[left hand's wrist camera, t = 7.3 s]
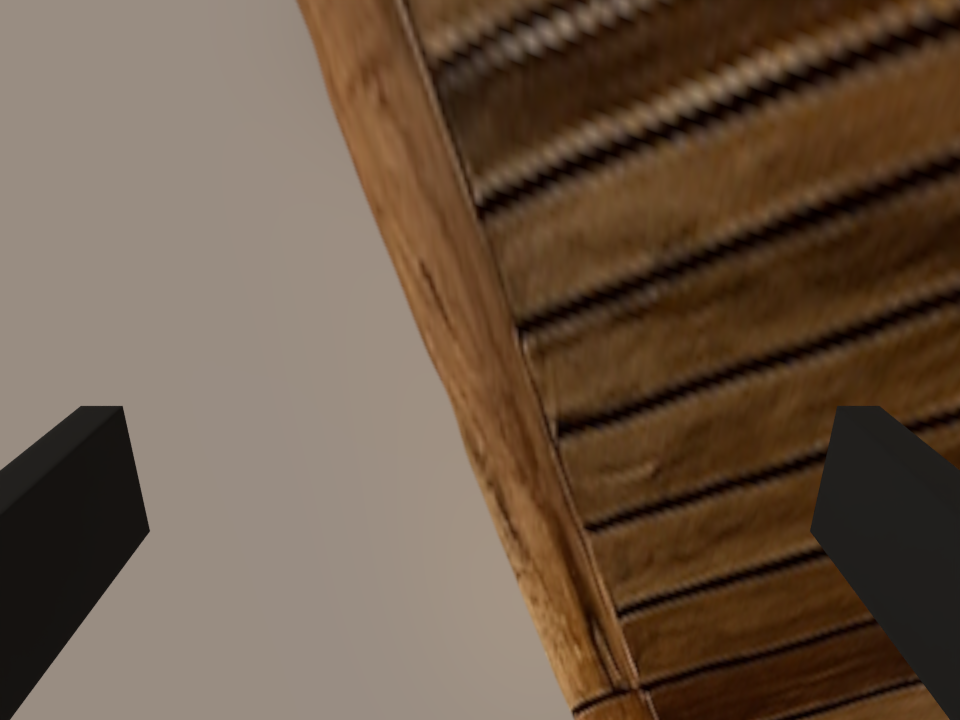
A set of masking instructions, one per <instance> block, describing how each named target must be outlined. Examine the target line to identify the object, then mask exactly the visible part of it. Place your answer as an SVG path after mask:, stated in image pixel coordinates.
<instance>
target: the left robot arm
mask: <svg viewBox="0 0 960 720" xmlns="http://www.w3.org/2000/svg"><path fill="white" fill-rule="evenodd" d="M149 532H150V529H149V525H148V521H147V516H146V511H145V507H144V502H143V497H142V493H141V488H140V484H139V479H138V475H137V470H136V465H135V461H134V456H133V452H132V447H131V442H130V438H129V433H128V429H127V424H126V420H125V415H124V410H123V406H80V407H79V408H78V409H77V410H75V411H74V412H73V413H72V414H70V415H69V416H68V417H67V418H65V419H64V420H63V421H62V422H60V423H59V424H58V425H57V426H55V427H54V428H53V429H52V430H50V431H49V432H48V433H47V434H45V435H44V436H43V437H42V438H40V439H39V440H38V441H37V442H35V443H34V444H33V445H32V446H30V447H29V448H28V449H27V450H25V451H24V452H23V453H22V454H20V455H19V456H18V457H17V458H15V459H14V460H13V461H12V462H10V463H9V464H8V465H7V466H5V467H4V468H3V469H2V470H0V720H10V719H11V718H12V716H13V715H14V713H15V712H16V711H17V709H18V708H19V707H20V705H21V704H22V703H23V701H24V700H25V699H26V697H27V696H28V695H29V693H30V692H31V691H32V689H33V688H34V687H35V685H36V684H37V683H38V681H39V680H40V679H41V677H42V676H43V674H44V673H45V672H46V670H47V669H48V668H49V666H50V665H51V664H52V662H53V661H54V660H55V658H56V657H57V656H58V654H59V653H60V652H61V650H62V649H63V648H64V646H65V645H66V644H67V642H68V641H69V639H70V638H71V637H72V635H73V634H74V633H75V631H76V630H77V629H78V627H79V626H80V625H81V623H82V622H83V621H84V619H85V618H86V617H87V615H88V614H89V612H90V611H91V610H92V608H93V607H94V606H95V604H96V603H97V602H98V600H99V599H100V598H101V596H102V595H103V594H104V592H105V591H106V590H107V588H108V587H109V586H110V584H111V583H112V581H113V580H114V579H115V577H116V576H117V575H118V573H119V572H120V571H121V569H122V568H123V567H124V565H125V564H126V563H127V561H128V560H129V559H130V557H131V556H132V554H133V553H134V552H135V550H136V549H137V548H138V547H139V545H140V544H141V542H142V541H143V540H144V538H145V537H146V536H147V534H148V533H149ZM810 532H811V533H812V534H813V536H814V537H815V538H816V540H817V541H818V542H819V544H820V545H821V547H822V548H823V549H824V551H825V552H826V553H827V555H828V556H829V557H830V559H831V560H832V561H833V563H834V564H835V565H836V567H837V568H838V569H839V571H840V572H841V573H842V575H843V576H844V577H845V579H846V580H847V582H848V583H849V584H850V586H851V587H852V588H853V590H854V591H855V592H856V594H857V595H858V596H859V598H860V599H861V600H862V602H863V603H864V604H865V606H866V607H867V608H868V610H869V611H870V613H871V614H872V615H873V617H874V618H875V619H876V621H877V622H878V623H879V625H880V626H881V627H882V629H883V630H884V631H885V633H886V634H887V635H888V637H889V638H890V639H891V641H892V642H893V644H894V645H895V646H896V648H897V649H898V650H899V652H900V653H901V654H902V656H903V657H904V658H905V660H906V661H907V662H908V664H909V665H910V666H911V668H912V669H913V670H914V672H915V673H916V674H917V676H918V677H919V679H920V680H921V681H922V683H923V684H924V685H925V687H926V688H927V689H928V691H929V692H930V693H931V695H932V696H933V697H934V699H935V700H936V701H937V703H938V704H939V705H940V707H941V708H942V710H943V711H944V712H945V714H946V715H947V716H948V718H949V719H950V720H960V470H958V469H957V468H956V467H955V466H953V465H952V464H951V463H950V462H948V461H947V460H946V459H945V458H943V457H942V456H941V455H940V454H938V453H937V452H936V451H935V450H933V449H932V448H931V447H930V446H928V445H927V444H926V443H925V442H923V441H922V440H921V439H920V438H918V437H917V436H916V435H915V434H913V433H912V432H911V431H910V430H908V429H907V428H906V427H905V426H903V425H902V424H901V423H900V422H898V421H897V420H896V419H895V418H893V417H892V416H891V415H890V414H888V413H887V412H886V411H885V410H883V409H882V408H881V407H880V406H837V410H836V415H835V419H834V424H833V429H832V433H831V438H830V442H829V447H828V452H827V456H826V461H825V465H824V470H823V474H822V479H821V484H820V488H819V493H818V497H817V502H816V506H815V511H814V516H813V520H812V525H811V529H810Z"/></svg>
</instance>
